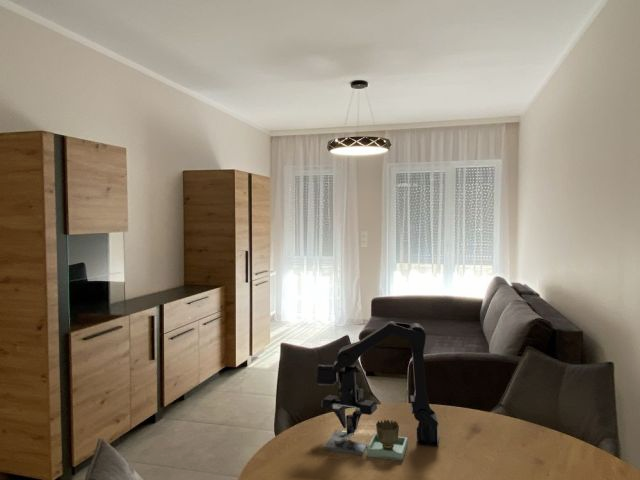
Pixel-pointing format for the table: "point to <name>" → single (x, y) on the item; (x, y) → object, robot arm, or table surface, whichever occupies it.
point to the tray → (393, 454)
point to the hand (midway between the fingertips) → (350, 428)
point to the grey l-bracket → (345, 445)
